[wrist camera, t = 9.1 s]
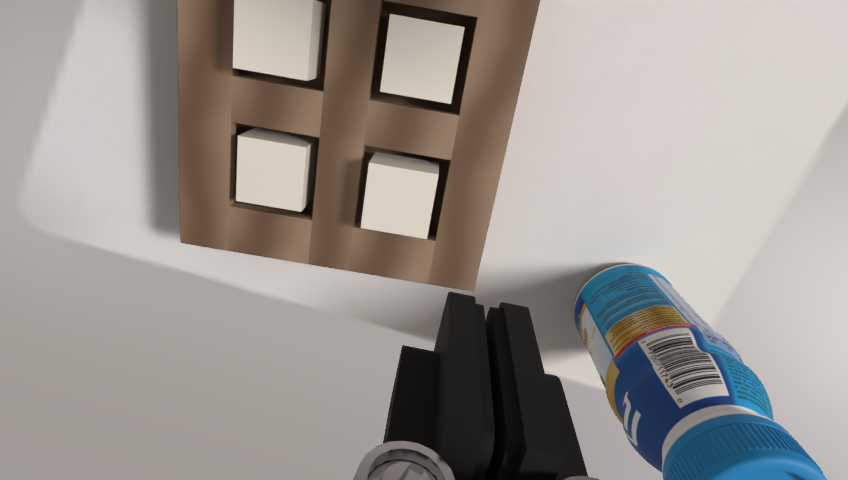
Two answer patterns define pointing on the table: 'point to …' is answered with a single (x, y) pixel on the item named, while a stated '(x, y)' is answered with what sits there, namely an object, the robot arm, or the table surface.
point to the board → (351, 136)
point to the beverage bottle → (681, 384)
